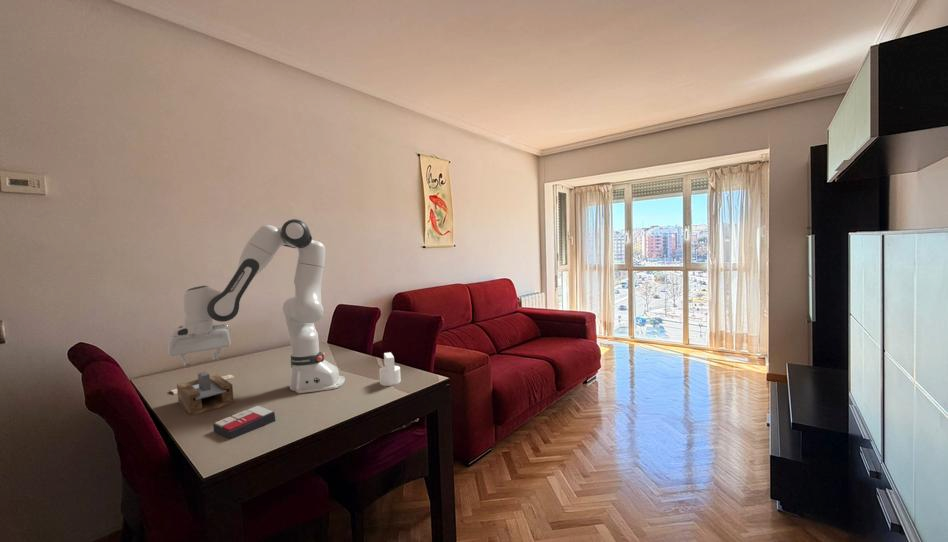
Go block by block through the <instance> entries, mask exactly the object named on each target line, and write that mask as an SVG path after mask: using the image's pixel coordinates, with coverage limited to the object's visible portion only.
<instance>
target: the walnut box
mask: <svg viewBox="0 0 948 542" xmlns="http://www.w3.org/2000/svg"><path fill="white" fill-rule="evenodd" d="M209 376H210V381H211V382H212V383H214V384H215V385H216V386H218V387H219V388H220V389H222V390H225V389H226V392H224V393H220V394H216V395H212V396H209V397H205V398H201V399H198V400H195V399H194V398H195V397H199V396H200V392H198V391H197V390H196V389H195V388H194V387H193V385H197V384H199V381H198V378H197V379H193V380H188V381H184V382H181V383H176V389H177V392H178V394H177V401H178V404H179V405H180V406H181V407H182V408H183V409H184V410H185V411H186V412H187V413H188V415H189V416H194V415H198V414H201V413H205V412H208V411H211V410H215V409H218V408H222V407H225V406H229V405H233V404H234V402H235V401H234V390H233V388H234V387H233V384H232V383H231V382H229V381H228V380H225V379H223V378H222V376H220V375H219V374H213V375H209Z"/></svg>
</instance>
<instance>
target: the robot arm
mask: <svg viewBox="0 0 948 542" xmlns="http://www.w3.org/2000/svg"><path fill="white" fill-rule="evenodd" d="M310 231H311V230H310V229H309V227H308V225H307V223H306V222H304V221H303V220H300V219H297V218H294V219H293V218H292V219H288V220H287V221H285V222H284V223H283V225H282V227H276V226H274V225H272V224H263V225H261V226H260V227H259V228H258V229H257V230H256V231H255V232H254V233H253V235H251V237H250V238H249V240H248V241H247V243H246V244H245V245H244V248H243V250H242V252H241V254H240V257H239V261H238V265H237V268H236V271H235V273H234V275H233V276H232V278H231V279H230V281H229V282H228V284H227V285H226V287H225V288H224V289H223V291H220V290H217V289H215V288H211V287H210V286H208V285H200V286H199V285H198V286H194V287H191V288H189V289H187V290H186V291H185V293H184V294H183V311H184V314H185V318H184V324H182V325H179V326H177V327H176V326H175V327H174V328H172V329H170V335H171V336H170V337H169V338H168V340H167V348H166V349H167V355H168V356H169V357H170V356H171V357H177V356H179V357H180V359H181V360H182V361H183V365H184V367H187V366H190V360H189V359H186V355H187V354H193V353H199V352H205V351H210V350H215V351H216V352H215V353H214V354H212V356H211V357H212V360H213V361H216V360H219V354H221V350H222V349H223V348H226V347H227V348H228V347H230V346H231V343H232V342H231V337H230V332H231V327H230V326H229V325H227V324H225V322H228V321H231V320H233V319H234V318H235V317H236V316H237V314H238V312H239V309H240V301H241V299H242V297H243V296H244V293H245V292H246V290H248V287H249V285H250V284H251V282H252V281H253V280H254V278H255V277H256V276H257V275H258V274H260V273H261V272H262V270H264V269H265V268H266V267H267V266H268V265H269V263H270V262H271V261H272V259H273V258H274V256H275V255H276V253H277V252H278V250H279V249H280V248H281V247H282V246H283V247H288V248H291V249H297V251H298V258H297V262H296V263H297V264H296V268H295V274H294V278H293V281H294V282H293V284H294V289H295V290H294V291H295V292H294V295H295V296H290V297H289V298H287V299H286V300H285V301H284V302H283V305H282V312H283V314H284V316H285V321H286V325H287V326H286V327H287V330H288V333H289V338H290V339H289V340H290V347H291V348H290V350H291V351H290V352H291V355H290V368H291V380H290V381H291V382H290V385H289V390H291V391H293V392H295V393H297V394H304V393H305V394H306V393H311V392H313V393H314V392H321V391H328V390H335V389H337V388H340V387H341V386H343V384H344V383H345V381H346V378H345V376H343V375H340V372H339V369H338V367H337V366H336V365H334V364H333V363H331V362H329V361H328V360H326V359H325V353H326V352H321V351H320V343H319V333H318V331H317V330H316V326H315V323H317V322H319V321H320V320H322V317H323V316H324V311H325V310H324V306H323V304H322V302H323V301H322V284H323V283H322V282H323V276H324V270H325V267H326V266H325V264H326V247H325V245H324V243H322V242H320V241H318V240H315V239H313V237H312V234H311V232H310ZM213 320H214V321H217V322H220V323H221V322H224V324H223V323H222V324H216V325H215V324H214V325H213V323H214V322H213Z"/></svg>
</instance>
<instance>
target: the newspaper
mask: <svg viewBox="0 0 948 542" xmlns="http://www.w3.org/2000/svg"><path fill="white" fill-rule="evenodd" d="M221 377H222V378H223V379H225V380H226V381H228V380H232V379H235V376H234V375H232V374H227V375H224V376H221ZM169 393H172V394H173V395H178V392H177V388H175V389H171V390H169Z"/></svg>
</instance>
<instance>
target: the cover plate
mask: <svg viewBox="0 0 948 542" xmlns="http://www.w3.org/2000/svg"><path fill="white" fill-rule="evenodd" d="M210 376H211V375H210V373H208V371H207V372H206V371H202V372H198V373H197V379H198V381H199V384H197V385H193V387H194V388H195V389H196V390H197V391H198V392H200V396H199V397H195V398H194V399H195V400H198V399H201V398H205V397H209V396H212V395H216V394H220V393H224V392H226V389H225V390H222V389H220V388H219V387H218V386H216V385H215V384H214V383H212V382H211V381H210Z"/></svg>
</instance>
